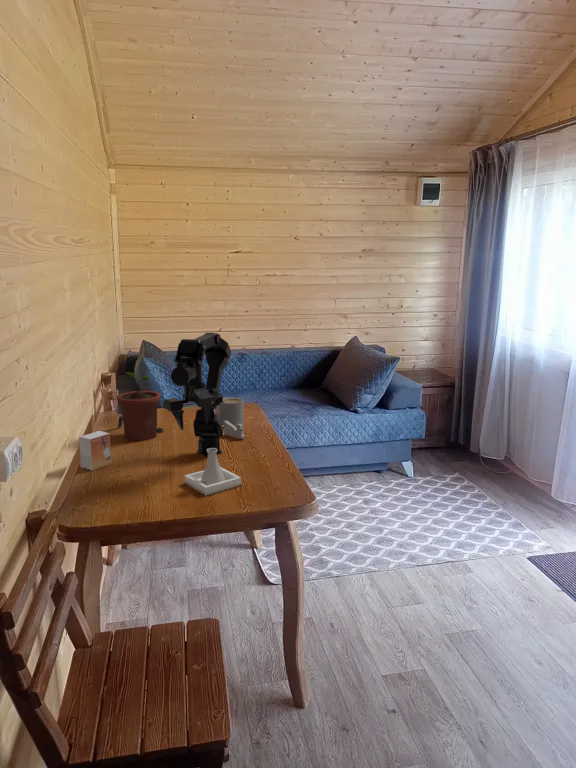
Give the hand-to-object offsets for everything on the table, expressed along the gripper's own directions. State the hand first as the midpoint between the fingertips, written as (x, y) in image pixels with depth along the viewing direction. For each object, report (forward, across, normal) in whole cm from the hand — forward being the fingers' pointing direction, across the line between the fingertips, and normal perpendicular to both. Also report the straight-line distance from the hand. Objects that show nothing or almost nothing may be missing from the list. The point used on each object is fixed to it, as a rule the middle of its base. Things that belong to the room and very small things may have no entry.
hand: (194, 427), depth 178 cm
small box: (+13, -25, +20) cm, 35 cm away
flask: (+12, -4, -17) cm, 21 cm away
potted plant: (+13, 0, +44) cm, 45 cm away
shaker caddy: (+13, -4, -17) cm, 22 cm away
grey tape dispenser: (+13, +26, +17) cm, 34 cm away
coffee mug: (+13, +34, +34) cm, 50 cm away
